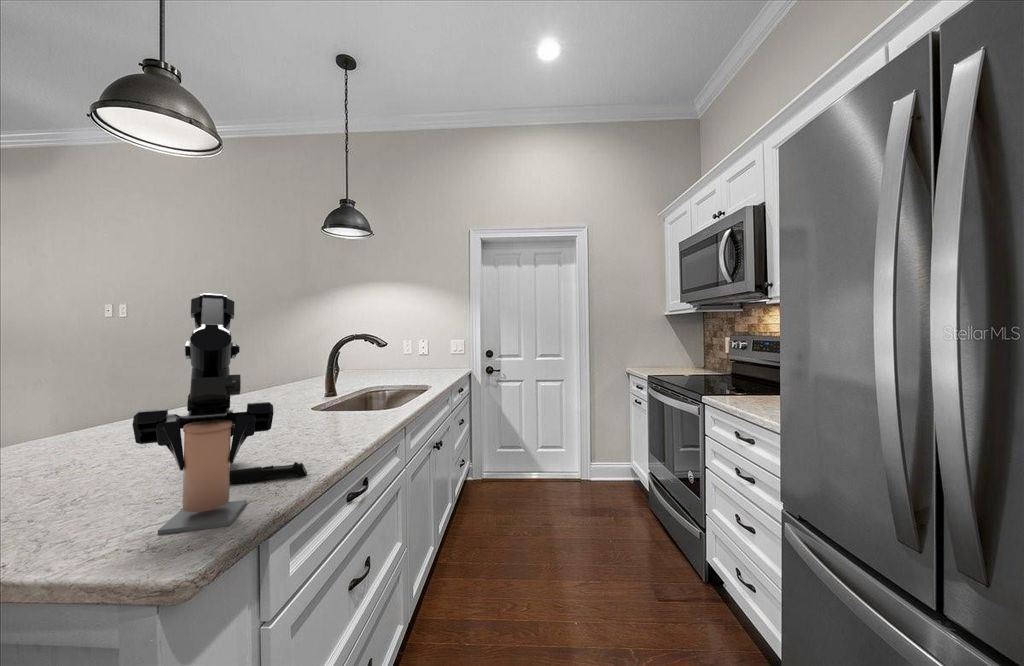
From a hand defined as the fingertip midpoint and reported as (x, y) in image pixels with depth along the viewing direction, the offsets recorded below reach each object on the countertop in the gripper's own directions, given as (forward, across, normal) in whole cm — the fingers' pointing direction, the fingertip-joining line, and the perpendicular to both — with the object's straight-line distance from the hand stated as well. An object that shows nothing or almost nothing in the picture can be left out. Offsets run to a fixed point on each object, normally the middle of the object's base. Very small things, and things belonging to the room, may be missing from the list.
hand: (207, 465), depth 64 cm
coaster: (+5, 0, +7) cm, 9 cm away
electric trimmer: (-5, +10, +18) cm, 21 cm away
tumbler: (+4, 0, +6) cm, 7 cm away
